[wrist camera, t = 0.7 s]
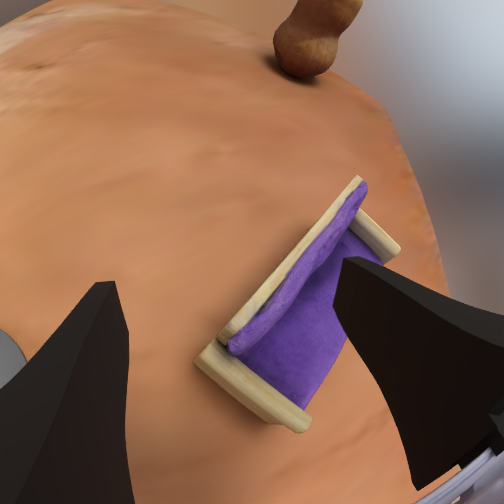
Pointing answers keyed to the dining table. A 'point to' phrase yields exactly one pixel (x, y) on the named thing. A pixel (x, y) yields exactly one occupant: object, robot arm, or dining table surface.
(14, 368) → the mat
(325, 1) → the butternut squash
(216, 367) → the toy sofa
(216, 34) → the dining table surface
